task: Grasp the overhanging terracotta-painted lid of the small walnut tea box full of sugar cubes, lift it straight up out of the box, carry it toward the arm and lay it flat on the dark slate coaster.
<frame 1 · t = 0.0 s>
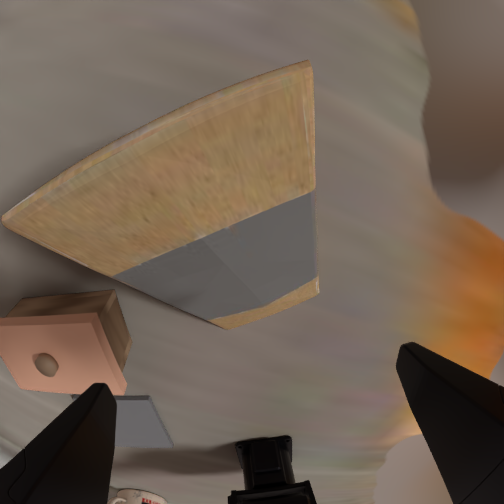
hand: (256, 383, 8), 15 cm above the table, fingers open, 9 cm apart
sandwich container: (235, 229, 23), on the table
lid: (54, 352, 20), point 4 cm above the table, touching tea box
coaster: (124, 422, 29), on the table
tea box: (73, 320, 24), on the table
white printed mug: (137, 494, 37), on the table
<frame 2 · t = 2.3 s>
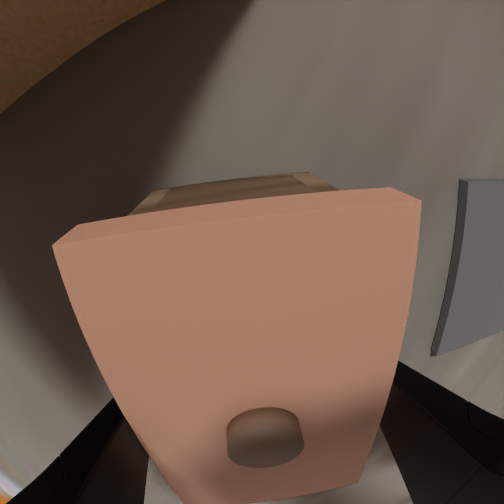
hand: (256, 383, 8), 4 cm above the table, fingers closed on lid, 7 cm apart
lid: (257, 395, 8), point 4 cm above the table, touching gripper, tea box
tea box: (245, 309, 12), on the table
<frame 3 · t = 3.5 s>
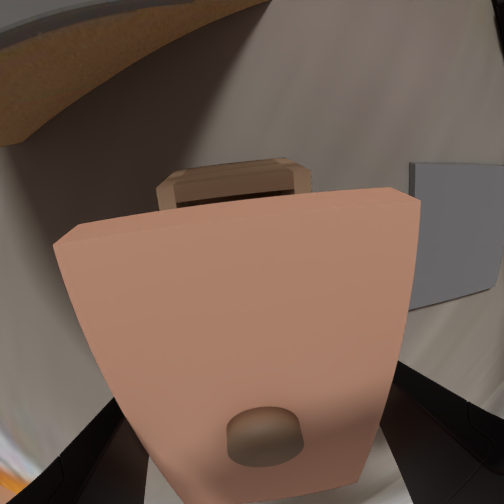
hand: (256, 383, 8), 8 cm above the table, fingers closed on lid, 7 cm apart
sandwich container: (106, 6, 11), on the table
lid: (257, 394, 8), point 9 cm above the table, touching gripper
coaster: (460, 233, 17), on the table
tea box: (241, 261, 16), on the table
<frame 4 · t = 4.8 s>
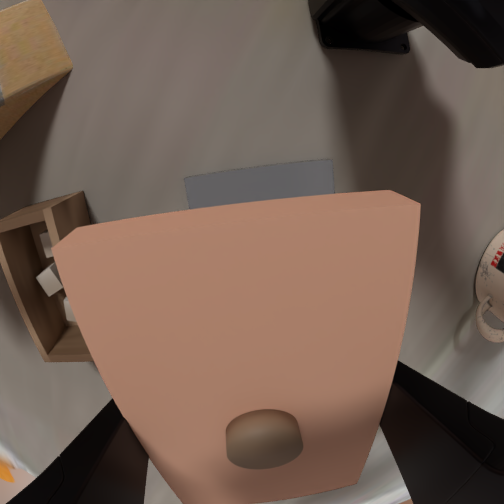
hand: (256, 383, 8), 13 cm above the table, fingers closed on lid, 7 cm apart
lid: (257, 397, 8), point 13 cm above the table, touching gripper
coaster: (266, 235, 20), on the table
tea box: (70, 266, 20), on the table
white printed mug: (491, 272, 24), on the table
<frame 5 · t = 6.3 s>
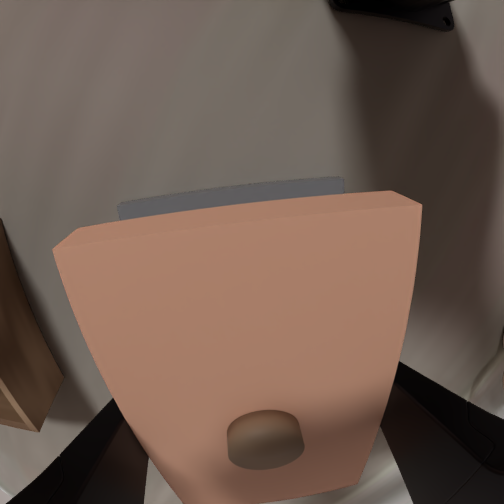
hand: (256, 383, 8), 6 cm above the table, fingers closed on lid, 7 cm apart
lid: (258, 397, 8), point 6 cm above the table, touching gripper
coaster: (241, 287, 14), on the table
tea box: (0, 309, 13), on the table
when the fingers open (2 cm above the table, at t = 7.6 s): lid drops 1 cm, resting on coaster.
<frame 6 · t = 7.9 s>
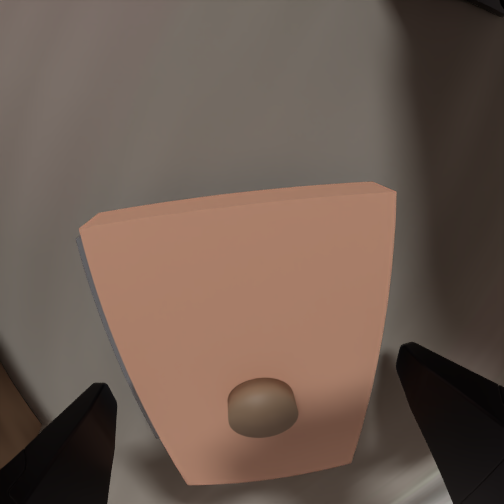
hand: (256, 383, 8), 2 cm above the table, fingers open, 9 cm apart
lid: (256, 371, 9), point 1 cm above the table, touching coaster
coaster: (249, 342, 10), on the table
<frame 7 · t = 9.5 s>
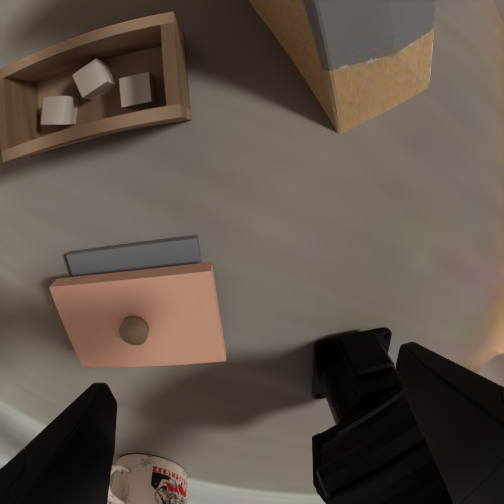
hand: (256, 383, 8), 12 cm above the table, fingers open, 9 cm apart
sandwich container: (327, 10, 15), on the table
lid: (139, 316, 19), point 1 cm above the table, touching coaster
coaster: (143, 304, 21), on the table
tea box: (105, 93, 15), on the table
white printed mug: (144, 463, 29), on the table
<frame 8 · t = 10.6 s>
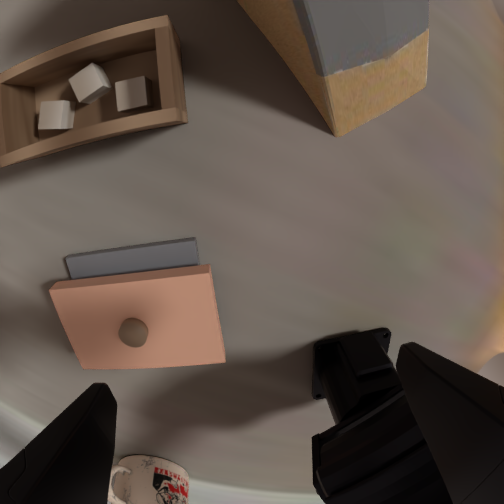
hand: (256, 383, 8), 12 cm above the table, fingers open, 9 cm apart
sandwich container: (321, 13, 15), on the table
lid: (138, 319, 19), point 1 cm above the table, touching coaster
coaster: (143, 306, 21), on the table
tea box: (102, 97, 15), on the table
white printed mug: (146, 464, 29), on the table
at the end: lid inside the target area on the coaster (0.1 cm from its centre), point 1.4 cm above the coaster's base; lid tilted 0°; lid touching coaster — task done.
